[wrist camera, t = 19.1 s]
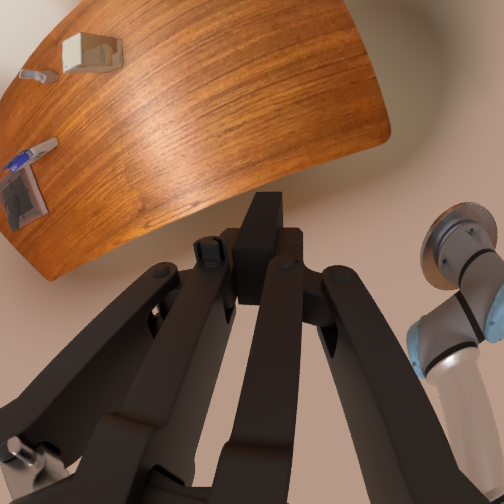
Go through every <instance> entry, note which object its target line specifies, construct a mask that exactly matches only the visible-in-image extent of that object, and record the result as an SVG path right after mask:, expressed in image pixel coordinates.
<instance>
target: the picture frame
mask: <svg viewBox="0 0 504 504" xmlns="http://www.w3.org/2000/svg"><path fill="white" fill-rule="evenodd" d="M37 186H38V185H37V183H36V180H35V177H34V175H33V172H32V169H31V166H30V164H29V165H27V166H25V167H23V168H22V169H20V170H18V171H16V172H14V173H12V172H11V170H10V171H9V172H8V173H7V174H6V175H5V176H4V177H3V178H2V179H1V180H0V202H1V205H2V207H3V210H4V212H5V214H6V217H7V219H8V222H9V225H10V227H11V229H12V231H13V232H14V231H16V230H18V229H19V228H21V227H23V226H25V225H27V224H29V223H30V222H32V221H34V220H36V219H38V218H40V217H42V216H44V215H45V214H47V213H48V210H47V209H46V208H47V207H46V205H45V203H44V200H43V198H42V196H41V193H40V191H39V188H38V187H37Z"/></svg>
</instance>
